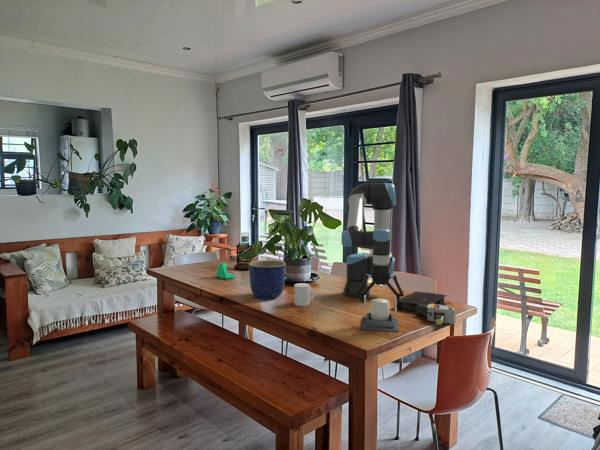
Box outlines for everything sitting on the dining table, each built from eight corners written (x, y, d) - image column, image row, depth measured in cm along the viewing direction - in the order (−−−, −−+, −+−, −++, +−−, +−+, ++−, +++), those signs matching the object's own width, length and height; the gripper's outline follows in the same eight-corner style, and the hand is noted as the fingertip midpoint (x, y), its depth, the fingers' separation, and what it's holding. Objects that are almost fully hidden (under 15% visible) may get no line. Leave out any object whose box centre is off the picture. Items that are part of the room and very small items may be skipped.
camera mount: (235, 278, 294) (235, 263, 293) (226, 280, 289) (226, 264, 288) (225, 275, 303) (225, 261, 302) (216, 277, 298) (216, 262, 297)
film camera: (404, 321, 204) (423, 314, 214) (441, 330, 190) (459, 322, 199) (404, 307, 204) (422, 300, 213) (441, 314, 189) (459, 307, 199)
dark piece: (256, 267, 332) (255, 241, 330) (251, 271, 318) (251, 244, 316) (237, 267, 334) (236, 241, 332) (231, 270, 320) (231, 243, 318)
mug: (291, 284, 231) (309, 281, 238) (291, 303, 232) (309, 300, 239) (299, 287, 224) (318, 284, 231) (299, 307, 225) (318, 303, 232)
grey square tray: (362, 318, 206) (362, 311, 206) (397, 320, 203) (397, 313, 203) (361, 329, 191) (361, 321, 190) (398, 331, 188) (399, 323, 187)
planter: (292, 298, 242) (292, 264, 241) (258, 303, 232) (258, 268, 230) (275, 290, 260) (275, 259, 258) (243, 295, 250) (242, 262, 248)
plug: (370, 319, 202) (371, 298, 201) (388, 320, 200) (389, 299, 199) (370, 325, 194) (370, 302, 193) (389, 326, 192) (389, 303, 191)
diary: (393, 309, 223) (393, 299, 222) (414, 299, 242) (414, 290, 242) (428, 315, 211) (428, 305, 211) (448, 304, 230) (448, 295, 230)
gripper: (352, 264, 193) (351, 311, 195) (410, 266, 189) (409, 314, 191) (353, 261, 200) (352, 307, 202) (409, 263, 196) (408, 309, 198)
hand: (380, 310), depth 196 cm, fingers open, 13 cm apart
